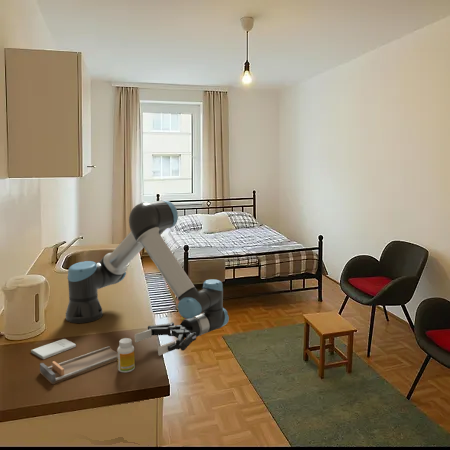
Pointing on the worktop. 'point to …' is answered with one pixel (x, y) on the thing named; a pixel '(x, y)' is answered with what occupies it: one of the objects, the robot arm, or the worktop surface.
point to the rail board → (79, 365)
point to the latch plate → (58, 368)
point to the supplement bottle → (126, 355)
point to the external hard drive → (53, 348)
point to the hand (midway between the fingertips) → (146, 344)
